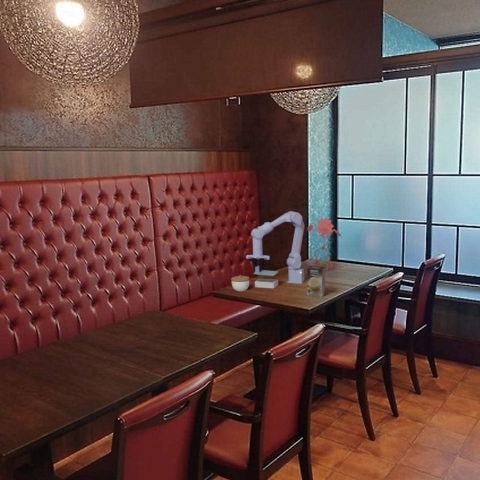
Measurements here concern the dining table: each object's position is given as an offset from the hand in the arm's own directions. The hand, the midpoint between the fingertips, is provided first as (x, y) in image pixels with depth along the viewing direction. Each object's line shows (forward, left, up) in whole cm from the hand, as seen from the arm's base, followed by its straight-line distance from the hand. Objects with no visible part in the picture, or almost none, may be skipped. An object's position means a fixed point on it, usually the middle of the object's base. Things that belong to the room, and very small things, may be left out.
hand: (258, 270), depth 319 cm
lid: (-5, 0, -2) cm, 5 cm away
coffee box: (-38, +9, -10) cm, 40 cm away
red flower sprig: (-27, -59, -10) cm, 66 cm away
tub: (-5, 0, -10) cm, 11 cm away
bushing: (-2, 0, -9) cm, 9 cm away
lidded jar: (+7, +12, -10) cm, 17 cm away
